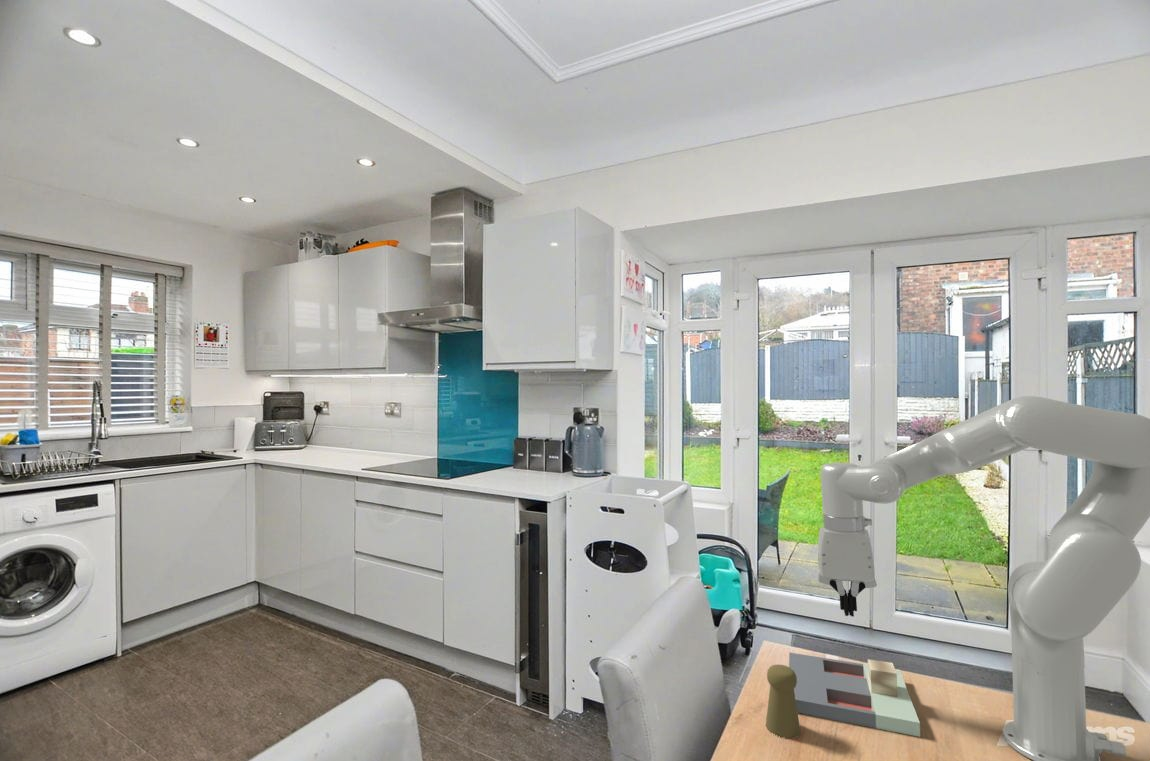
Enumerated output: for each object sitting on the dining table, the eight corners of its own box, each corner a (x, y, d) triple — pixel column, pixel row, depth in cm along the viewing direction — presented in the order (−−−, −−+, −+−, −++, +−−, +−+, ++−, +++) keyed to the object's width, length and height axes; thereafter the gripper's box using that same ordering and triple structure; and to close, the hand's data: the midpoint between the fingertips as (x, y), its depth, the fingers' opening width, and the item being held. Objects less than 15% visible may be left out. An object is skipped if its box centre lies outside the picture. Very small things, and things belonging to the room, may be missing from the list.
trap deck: (899, 681, 116) (899, 669, 116) (920, 736, 97) (919, 722, 97) (789, 663, 124) (789, 652, 124) (788, 711, 106) (788, 698, 106)
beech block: (893, 685, 110) (892, 662, 110) (897, 696, 106) (896, 673, 106) (868, 681, 111) (867, 659, 112) (871, 692, 107) (870, 669, 107)
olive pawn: (803, 740, 97) (802, 678, 97) (768, 736, 98) (766, 674, 98) (796, 720, 103) (795, 661, 103) (763, 716, 104) (762, 658, 104)
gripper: (881, 521, 112) (887, 610, 111) (803, 518, 118) (808, 603, 117) (887, 529, 105) (893, 625, 104) (804, 525, 111) (809, 616, 110)
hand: (848, 613), depth 111 cm, fingers closed
